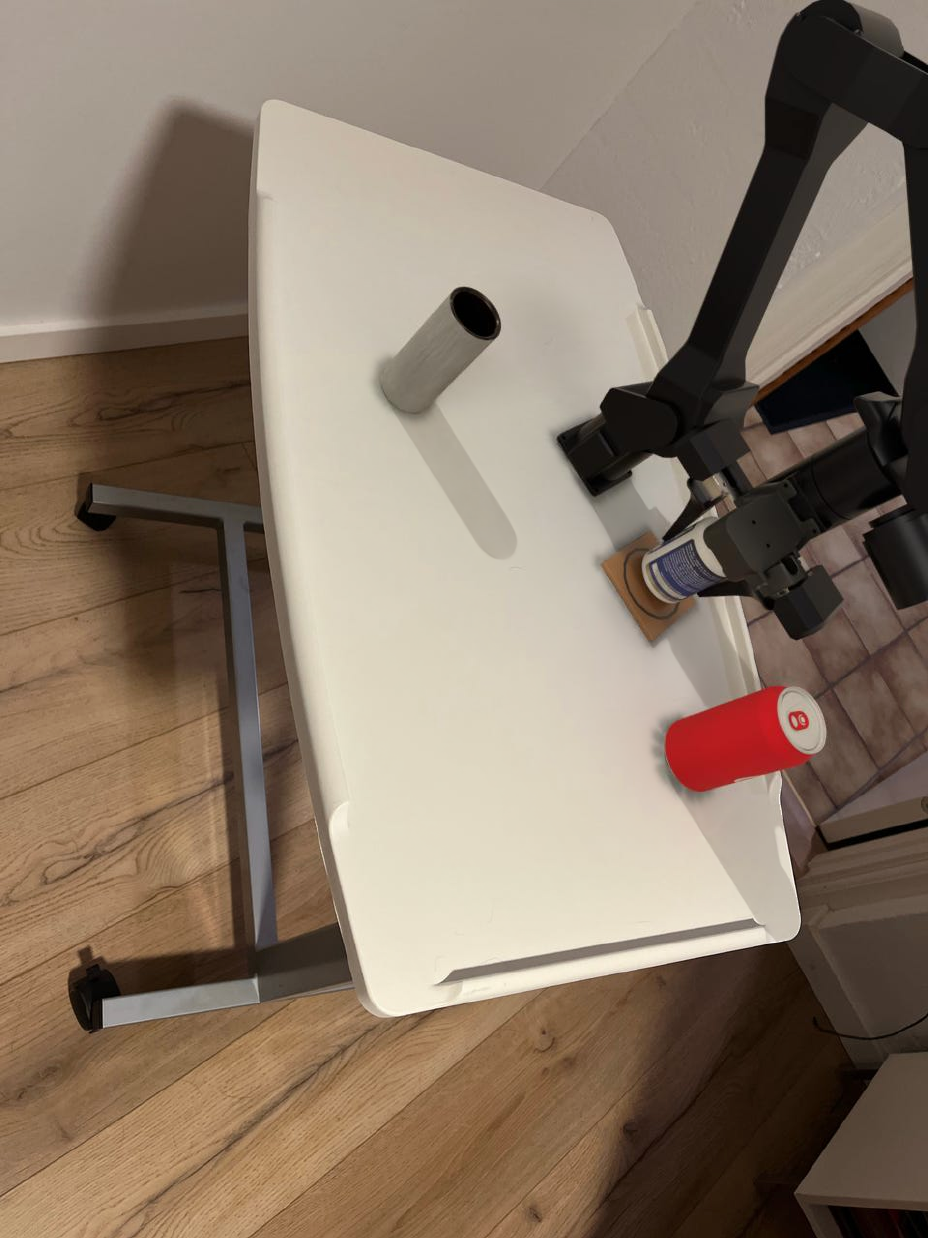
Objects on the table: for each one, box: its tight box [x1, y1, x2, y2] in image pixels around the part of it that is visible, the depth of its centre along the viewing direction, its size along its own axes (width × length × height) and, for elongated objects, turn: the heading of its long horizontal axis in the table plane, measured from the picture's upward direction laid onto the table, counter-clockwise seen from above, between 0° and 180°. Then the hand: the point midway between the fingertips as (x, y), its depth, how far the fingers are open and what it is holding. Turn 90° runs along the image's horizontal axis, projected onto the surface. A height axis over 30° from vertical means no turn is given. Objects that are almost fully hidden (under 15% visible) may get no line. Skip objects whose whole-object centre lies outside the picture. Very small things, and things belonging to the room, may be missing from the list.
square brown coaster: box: [600, 530, 697, 642], centre depth 81 cm, size 8×8×1 cm
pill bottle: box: [642, 515, 727, 603], centre depth 78 cm, size 5×5×10 cm
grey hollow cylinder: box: [380, 286, 502, 414], centre depth 69 cm, size 4×4×10 cm
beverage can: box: [664, 685, 827, 793], centre depth 72 cm, size 6×6×12 cm
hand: (682, 565), depth 79 cm, fingers closed on pill bottle, 5 cm apart
